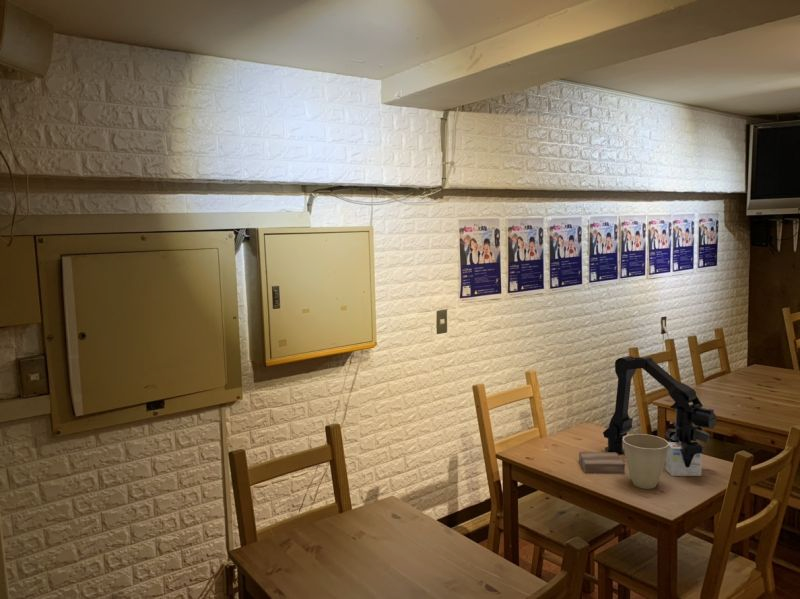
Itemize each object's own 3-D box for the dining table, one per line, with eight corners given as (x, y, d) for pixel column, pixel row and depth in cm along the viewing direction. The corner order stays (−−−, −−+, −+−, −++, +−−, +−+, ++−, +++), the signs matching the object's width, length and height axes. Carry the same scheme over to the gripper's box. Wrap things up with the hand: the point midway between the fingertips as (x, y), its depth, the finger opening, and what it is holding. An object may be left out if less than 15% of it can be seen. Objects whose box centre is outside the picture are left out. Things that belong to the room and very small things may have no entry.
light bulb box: (694, 469, 224) (695, 441, 223) (702, 476, 218) (702, 447, 217) (665, 469, 225) (665, 441, 224) (671, 476, 219) (672, 447, 218)
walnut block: (579, 462, 236) (579, 452, 235) (616, 462, 234) (616, 452, 234) (585, 474, 224) (585, 464, 223) (624, 474, 223) (624, 464, 222)
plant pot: (638, 496, 204) (639, 450, 202) (614, 478, 218) (614, 436, 217) (677, 490, 207) (678, 446, 205) (650, 474, 221) (651, 432, 220)
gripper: (719, 430, 210) (718, 473, 212) (695, 413, 228) (694, 453, 230) (686, 430, 210) (685, 473, 212) (665, 414, 229) (665, 454, 231)
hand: (683, 463), depth 221 cm, fingers closed on light bulb box, 7 cm apart
